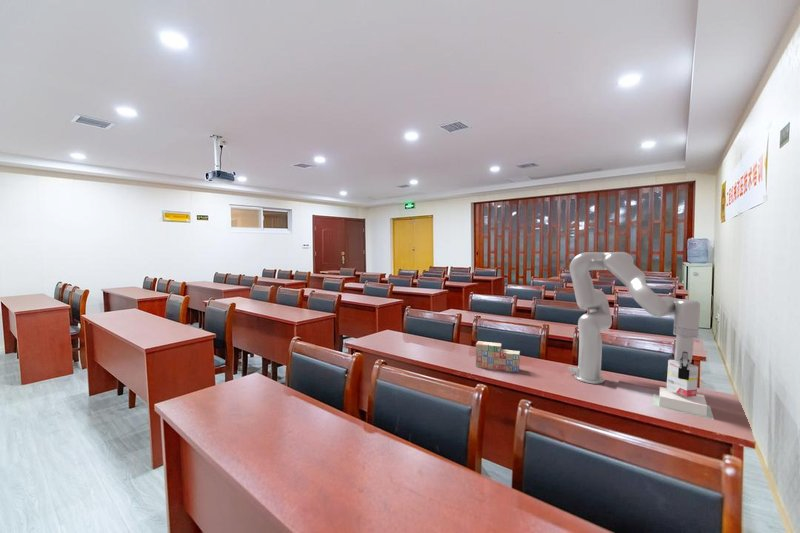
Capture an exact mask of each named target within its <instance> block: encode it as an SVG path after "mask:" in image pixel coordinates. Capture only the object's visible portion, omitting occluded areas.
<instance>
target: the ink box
mask: <svg viewBox="0 0 800 533" xmlns="http://www.w3.org/2000/svg"><path fill="white" fill-rule="evenodd" d="M681 366H682V365H681ZM679 368H680V361H675V359H668V360H667V375H666V376H667V377H666V388H667V389H669V390H671V391H674V392H676V393H678V394H681V395H683V396H685V397H693V396H696V395H697V393H698V390H697V389H698V378H699V366H698V365H694V364H692V363H689V380H684V379H679V378H678V369H679Z"/></svg>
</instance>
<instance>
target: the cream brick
mask: <svg viewBox="0 0 800 533" xmlns="http://www.w3.org/2000/svg"><path fill="white" fill-rule="evenodd" d="M658 395H659V406H660V407H664V408H669V409H673V410H678V411H682V412H687V413H691V414H695V415H700V416H704V417H707V405H708V404H707V401H706V397H705V395H704V394H697V395H696V396H693V397H685V396H683V395H681V394H678V393H676V392H674V391H671V390H669V389H667V387H663V386H659V394H658ZM660 407H659V408H660ZM664 408H663V409H664ZM673 410H672V411H673ZM682 412H681V413H682ZM691 414H690V415H691ZM695 415H694V416H695ZM704 417H703V418H704Z"/></svg>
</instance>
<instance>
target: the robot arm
mask: <svg viewBox="0 0 800 533" xmlns="http://www.w3.org/2000/svg"><path fill="white" fill-rule="evenodd" d="M634 261H635V260H634V258H633V256H632V255H631V254H629V253H628V252H626V251H612V252H611V251H610V252H609V251H608V252H605V251H604V252H603V251H602V252H598V251H597V252H596V251H591V252H590V251H586V252H581V253H578V254H577V255H575V256H574V257H573V259H572V260H571V261H570V263H569V274H570V278H571V281H572V286H573V287H572V288H573V292H574V296H575V300H576V304H577V307H578V308H579V309H581V310H583V311H584V310H585V311H589V312H587V313H584V314H582V315H581V316H580V317H579V318H578V320H577V327H578V328H577V329H578V336H579V339H578V360H577V361H578V363H577V364H578V365H577V366H576V367H574V366H569V365H568V368H567V370H568V371H569V372H571V373H574V374H573V377H574V379H576V380H578V381H580V382H583V383H587V384H593V385H594V384H595V385H596V384H603V383H605V377H603V376H601V375H602V374H601V373H602V358H603V356H602V355H603V354H602V353H603V351H602V350H603V340H602V339H603V338H602V335H601V334H602V333H601V332H605V331H607V330H609V329H610V328H611V327H612V324H613V319H612V318H613V317H612V313H611V308H610V305H609V301H608V297H607V296H606V294H605V293H604V291H602V290H601V289H597V288H595V286H594V282H593V279H592V277H591V275H590V273H589V271H608V272H610V273H612V274H613V276H615V277H616V278H617V279H618V280H619V281H620V282H621V283H622V284H623V285H624V286H625V287H626V288H627V290H628V293H630V295H631V297H632V298H633V300H634V301H635V302H636V304H638V305H639V306H640V307H641V308H642V309H643V310H644V311H646V312H647V314H649V315H651V316H653V317H657V318H661V317H666V316H667V317H668V316H674V317H673V332H672V333H673V335H674V336H675V345H674V360H675V361H680V368H679V369H678V378H679V379H684V380H689V364H692V360H693V355H694V344H695V343H694V342H695V339H697V338H699V331H700V330H699V328H700V319H701V318H700V317H701V316H700V315H701V303H700V302H699V301H698V300H695V299H685V298H684V299H683V298H682V299H681V298H676V297H674V296H673V297H672V296H659V295H658V294H656V293H655V292H654V291H653V290H652V288H650V287H649V285H648V284H647V281H646V279H647V278H646V274H645V272H644V271H642V270H641V269H640V268H639V267H637V266H636V265H635V264H634V263H635V262H634ZM681 365H682V366H681Z"/></svg>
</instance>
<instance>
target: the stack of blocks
mask: <svg viewBox="0 0 800 533" xmlns="http://www.w3.org/2000/svg"><path fill="white" fill-rule="evenodd" d="M520 354H521V351H520V350H510V349H503V348H502V343H500V342H491V341H490V342H489V341H481V340H478V341H477V342H476V344H475V367H476V368H480V369H489V370H497V371H505V372H512V373H520V363H521V362H520V359H521V358H520V357H521V355H520Z"/></svg>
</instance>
